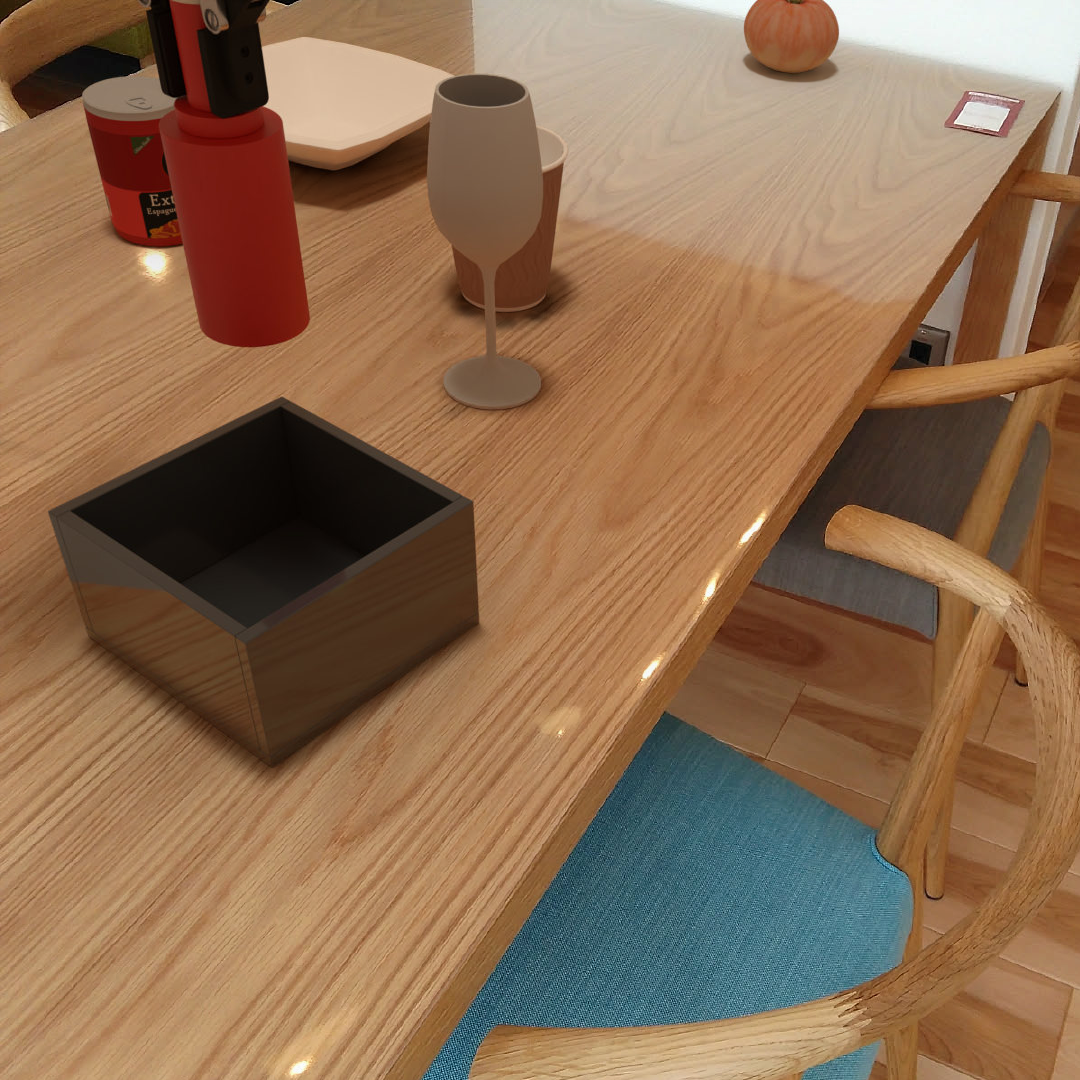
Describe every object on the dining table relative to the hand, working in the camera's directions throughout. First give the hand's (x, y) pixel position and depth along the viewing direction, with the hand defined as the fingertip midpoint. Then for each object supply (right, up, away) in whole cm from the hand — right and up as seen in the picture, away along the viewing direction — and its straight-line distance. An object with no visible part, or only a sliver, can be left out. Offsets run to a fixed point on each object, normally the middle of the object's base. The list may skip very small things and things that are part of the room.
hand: (216, 96), depth 65 cm
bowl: (-11, +22, +60) cm, 64 cm away
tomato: (+35, +42, +86) cm, 102 cm away
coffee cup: (+8, +3, +42) cm, 43 cm away
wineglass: (+9, -7, +32) cm, 34 cm away
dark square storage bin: (0, -26, +11) cm, 28 cm away
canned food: (-21, +10, +46) cm, 51 cm away
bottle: (-1, -9, +9) cm, 12 cm away
